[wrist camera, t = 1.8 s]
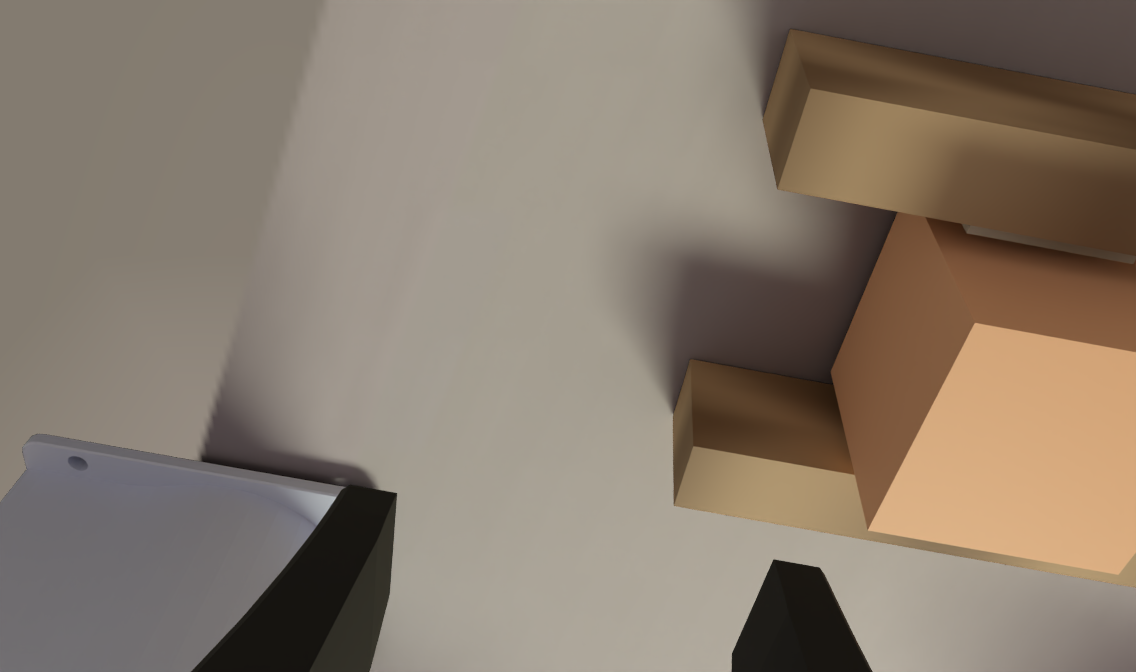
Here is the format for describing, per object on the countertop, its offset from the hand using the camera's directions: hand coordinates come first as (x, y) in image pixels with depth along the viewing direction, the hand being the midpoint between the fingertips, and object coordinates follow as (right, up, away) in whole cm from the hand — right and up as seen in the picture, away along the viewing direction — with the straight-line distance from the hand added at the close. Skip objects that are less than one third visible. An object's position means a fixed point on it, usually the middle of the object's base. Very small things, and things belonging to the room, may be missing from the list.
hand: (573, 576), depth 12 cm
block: (+9, +4, +8) cm, 12 cm away
